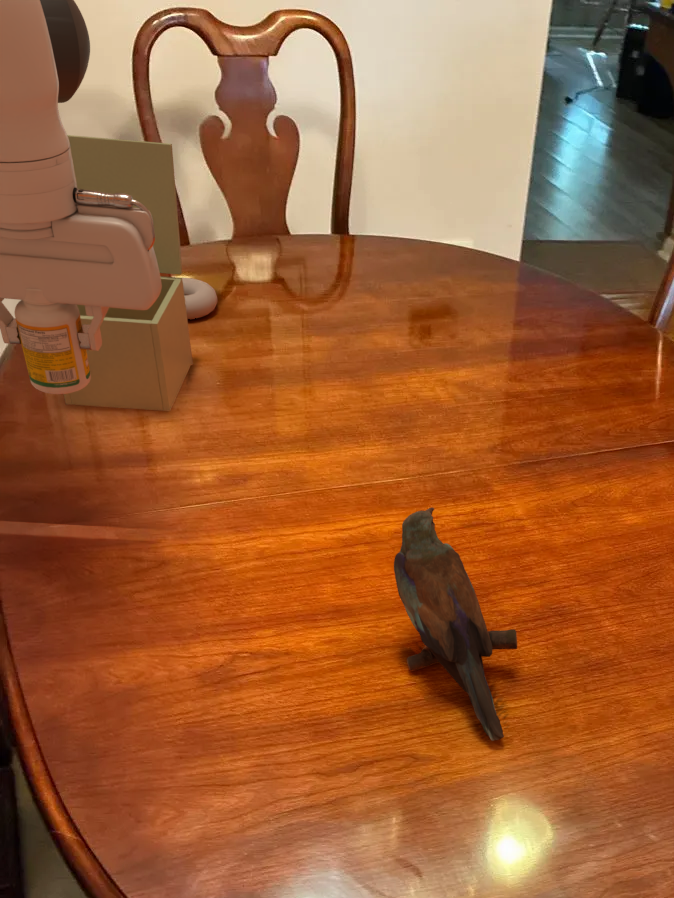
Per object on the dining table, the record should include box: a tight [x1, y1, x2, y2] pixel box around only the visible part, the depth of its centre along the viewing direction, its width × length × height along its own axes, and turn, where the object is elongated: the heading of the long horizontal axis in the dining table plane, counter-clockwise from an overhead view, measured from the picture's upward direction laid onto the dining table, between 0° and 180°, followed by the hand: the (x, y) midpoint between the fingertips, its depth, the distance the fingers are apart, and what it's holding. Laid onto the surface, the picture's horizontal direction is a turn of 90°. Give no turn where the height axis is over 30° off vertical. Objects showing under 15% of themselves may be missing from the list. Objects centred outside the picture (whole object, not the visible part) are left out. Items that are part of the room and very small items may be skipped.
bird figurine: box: [393, 507, 518, 742], centre depth 87 cm, size 13×10×20 cm
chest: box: [63, 275, 194, 412], centre depth 119 cm, size 14×13×13 cm
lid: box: [67, 134, 183, 275], centre depth 116 cm, size 15×13×1 cm
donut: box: [181, 277, 218, 321], centre depth 142 cm, size 10×4×10 cm
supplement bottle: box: [14, 288, 91, 395], centre depth 86 cm, size 5×5×10 cm
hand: (53, 344), depth 87 cm, fingers closed on supplement bottle, 5 cm apart
